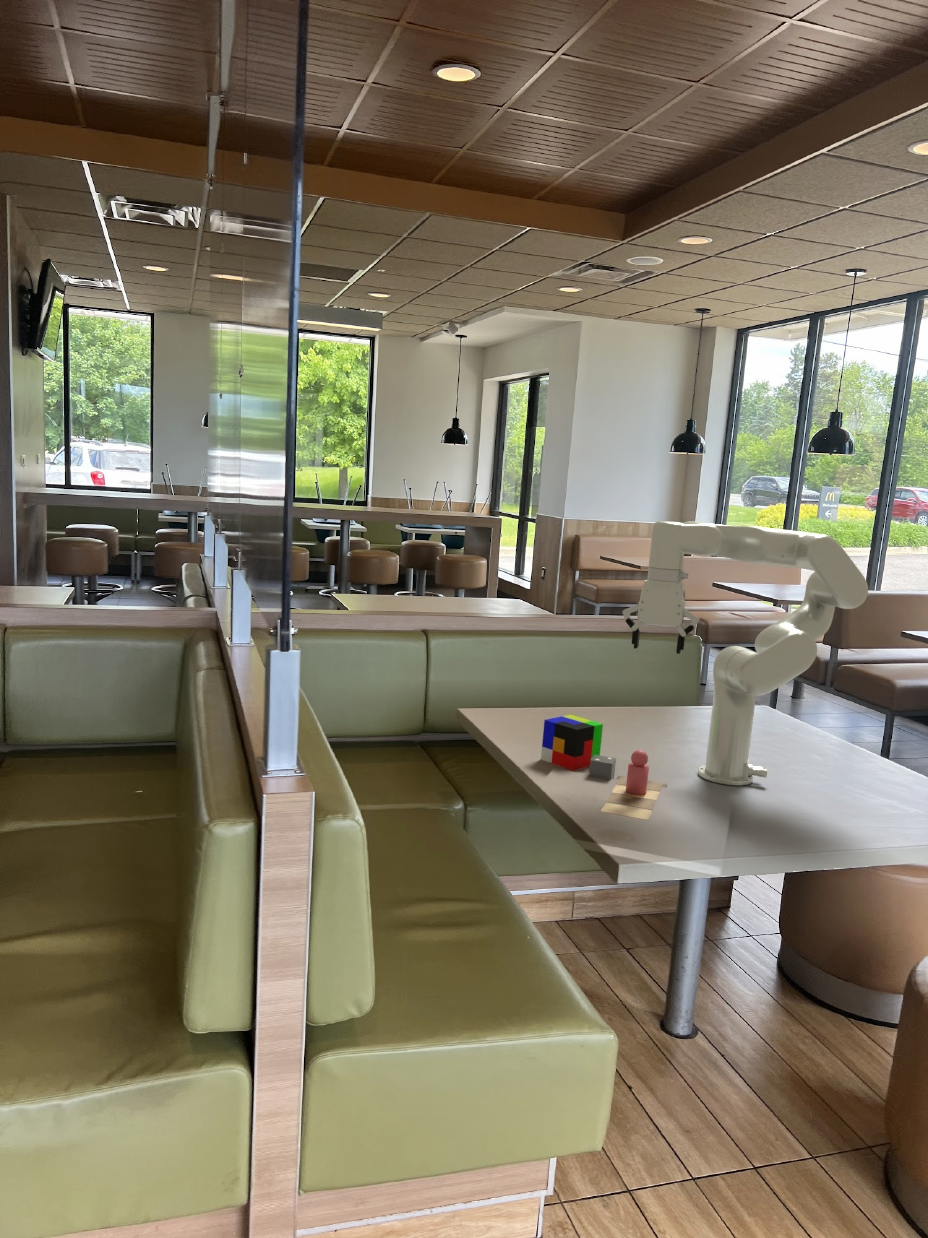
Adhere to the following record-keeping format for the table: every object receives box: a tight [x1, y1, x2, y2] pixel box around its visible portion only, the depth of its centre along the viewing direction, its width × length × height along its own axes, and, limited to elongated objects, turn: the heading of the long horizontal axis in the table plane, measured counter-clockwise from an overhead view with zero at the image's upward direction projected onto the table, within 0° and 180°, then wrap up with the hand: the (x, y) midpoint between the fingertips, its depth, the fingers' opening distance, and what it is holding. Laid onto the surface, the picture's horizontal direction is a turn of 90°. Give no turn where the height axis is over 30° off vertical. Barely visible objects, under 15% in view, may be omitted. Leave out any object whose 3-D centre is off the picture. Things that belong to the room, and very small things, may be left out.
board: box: [600, 775, 668, 821], centre depth 196 cm, size 11×27×1 cm, turn 161°
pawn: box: [626, 749, 650, 796], centre depth 198 cm, size 4×4×9 cm
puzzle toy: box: [540, 714, 604, 772], centre depth 221 cm, size 10×10×10 cm
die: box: [588, 755, 617, 781], centre depth 209 cm, size 5×5×5 cm
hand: (657, 650), depth 210 cm, fingers open, 9 cm apart
